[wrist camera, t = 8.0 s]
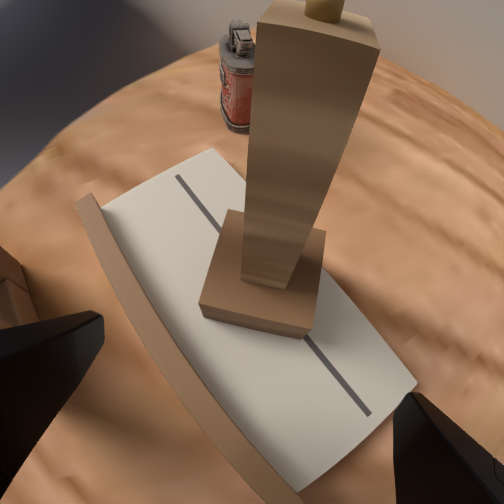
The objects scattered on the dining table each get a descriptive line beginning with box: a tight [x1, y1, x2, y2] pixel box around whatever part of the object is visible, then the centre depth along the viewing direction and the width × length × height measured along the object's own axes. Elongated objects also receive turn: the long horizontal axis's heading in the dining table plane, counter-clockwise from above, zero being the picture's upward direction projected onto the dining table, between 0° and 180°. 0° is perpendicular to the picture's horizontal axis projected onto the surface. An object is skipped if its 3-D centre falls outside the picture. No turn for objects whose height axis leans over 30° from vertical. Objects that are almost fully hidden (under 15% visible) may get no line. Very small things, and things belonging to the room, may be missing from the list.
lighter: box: [219, 20, 255, 133], centre depth 25 cm, size 8×3×10 cm, turn 10°
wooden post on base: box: [198, 0, 380, 340], centre depth 12 cm, size 6×6×17 cm
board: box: [75, 147, 418, 504], centre depth 18 cm, size 24×12×4 cm, turn 37°
